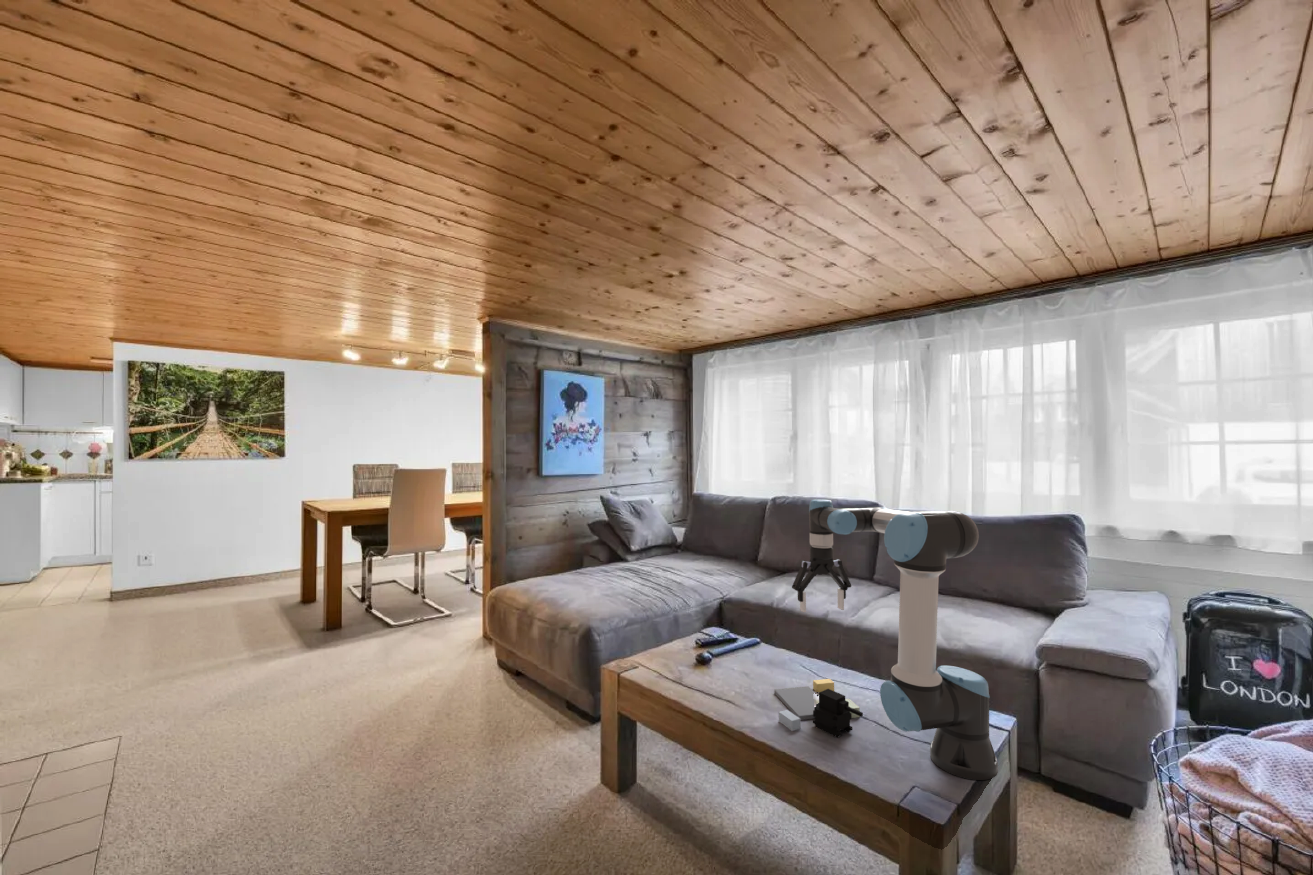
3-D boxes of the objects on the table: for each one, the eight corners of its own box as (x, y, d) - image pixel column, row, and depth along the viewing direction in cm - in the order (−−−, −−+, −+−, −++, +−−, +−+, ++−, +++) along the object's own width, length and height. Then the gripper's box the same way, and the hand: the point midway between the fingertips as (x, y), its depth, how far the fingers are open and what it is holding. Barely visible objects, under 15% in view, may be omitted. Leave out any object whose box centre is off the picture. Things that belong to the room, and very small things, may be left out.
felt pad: (836, 715, 166) (836, 711, 166) (799, 719, 163) (799, 715, 163) (808, 689, 183) (808, 686, 183) (774, 693, 181) (774, 689, 181)
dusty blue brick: (800, 729, 158) (800, 718, 159) (792, 731, 157) (792, 720, 157) (787, 719, 164) (787, 709, 164) (778, 721, 163) (778, 711, 163)
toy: (853, 748, 148) (853, 710, 148) (810, 726, 160) (810, 691, 160) (870, 739, 153) (869, 702, 153) (827, 718, 164) (826, 685, 164)
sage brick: (859, 717, 165) (859, 707, 165) (850, 718, 164) (850, 708, 164) (848, 708, 171) (848, 698, 171) (840, 709, 170) (839, 699, 170)
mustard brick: (829, 687, 185) (829, 678, 185) (834, 691, 182) (834, 682, 183) (813, 689, 184) (813, 680, 184) (817, 693, 181) (817, 684, 181)
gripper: (849, 542, 190) (850, 604, 190) (781, 545, 186) (782, 608, 185) (861, 546, 183) (862, 610, 183) (791, 549, 178) (791, 615, 178)
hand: (822, 610), depth 184 cm, fingers open, 13 cm apart
